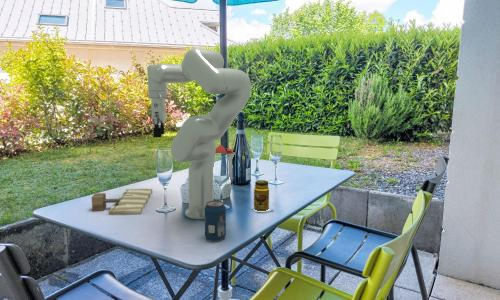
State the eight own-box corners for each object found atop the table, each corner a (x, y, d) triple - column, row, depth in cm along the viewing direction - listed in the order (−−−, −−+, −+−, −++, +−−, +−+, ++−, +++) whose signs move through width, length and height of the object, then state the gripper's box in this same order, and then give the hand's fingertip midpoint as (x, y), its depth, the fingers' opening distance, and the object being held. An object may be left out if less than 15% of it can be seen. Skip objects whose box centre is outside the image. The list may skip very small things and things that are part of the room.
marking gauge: (118, 210, 147) (117, 196, 146) (92, 211, 145) (91, 197, 144) (121, 206, 151) (120, 192, 150) (96, 207, 150) (95, 193, 149)
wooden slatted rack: (140, 213, 143) (140, 210, 143) (109, 214, 142) (108, 210, 142) (152, 191, 173) (152, 188, 172) (126, 192, 171) (125, 189, 171)
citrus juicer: (198, 180, 193) (198, 143, 189) (230, 178, 199) (230, 141, 195) (205, 188, 179) (205, 148, 175) (239, 185, 184) (239, 146, 181)
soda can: (209, 232, 126) (209, 199, 124) (228, 235, 124) (228, 201, 122) (201, 240, 120) (200, 205, 117) (221, 243, 118) (221, 207, 116)
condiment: (257, 213, 145) (257, 184, 143) (248, 207, 153) (248, 179, 151) (273, 211, 148) (274, 182, 146) (263, 205, 156) (264, 177, 154)
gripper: (164, 95, 145) (165, 138, 148) (168, 94, 162) (170, 133, 165) (144, 95, 144) (146, 138, 148) (151, 94, 161) (153, 133, 164)
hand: (158, 135), depth 156 cm, fingers open, 9 cm apart
